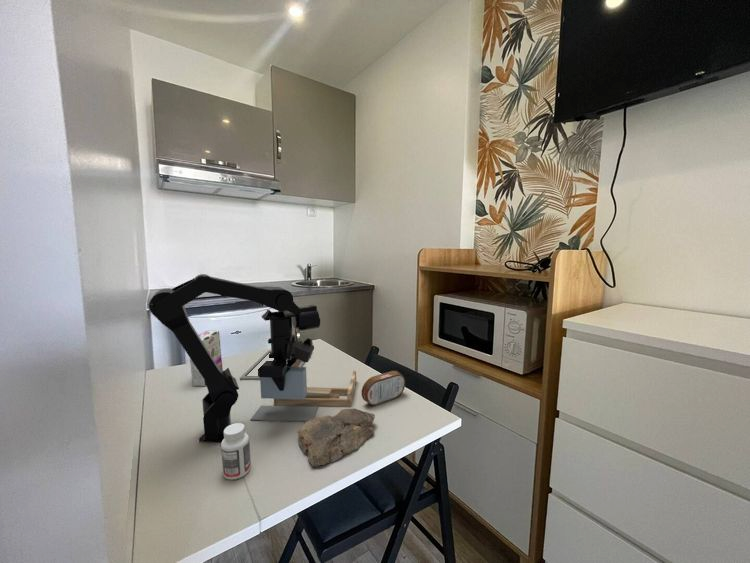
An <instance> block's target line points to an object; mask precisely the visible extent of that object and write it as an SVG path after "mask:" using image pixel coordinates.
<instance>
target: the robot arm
mask: <svg viewBox="0 0 750 563" xmlns="http://www.w3.org/2000/svg"><path fill="white" fill-rule="evenodd" d="M205 293H208V294H214V295H219V296H225V297H229V298H233V299H234V298H235V299H240V300H245V301H252V302H255V303H258V304H260V305H263V306H266V307H267V308H270V309H273V310H276V311H271V310H270V309H267V310H266V311H265V312H264V313H263V314H262V315H261V318H262V319H263V320H264V321H265V322H266V321H269V329H270V330H269V332H270V333H269V334H270V338H268V339H267V344H269V345H270V350H271V353H270V354H269V358H274V360H273V361H266V362H265V363H264V364H263V365H262V366H261V367H260V368H259V369H258V376H259V377H269V378H272V379H273V381H274V382H275V384H276V386H277V387H278V389H279V390H280V391H283V390H284V386H285V377H286V373H287V372H288V371H289V370H290V368H291V367H292V365H293V364H294V363H295V362H296V361H297V359H299V360H302V362H305V363H308V362H309V361H310V359H311V358H312V356H313V352H314V350H315V345H314V343H313V339H312V338H308V337H307V338H306V339H304V340H300V341H299V340H297V337H296V334H293V328H294V329H297V331H298V332H302V331H309V330H314V329H316V330H317V329H319V328H320V327H321V318H320V314H319V310H318V306H317V305H315V304H310V305H307V306H305V305H304V306H300V307H299V305H297V304H296V302H294V297H293V296H294V295H293V294H292V292H290V291H289V290H288V289H286V288H283V287H280V286H267V285H266V286H259V285H258V286H255V285H251V284H247V283H242V282H238V281H237V282H236V281H232V280H229V279H223V278H219V277H215V276H214V277H213V276H210V275H208V274H204V273H200V274H198V275H196V276H195V277H193V278H192V279H190V280H188V281H185V282H183V283H181V284H178V285H176V286H175V287H172V288H162V289H160V290H157V291H156V292H155V293H154V294H153V295H152V297H151V298H150V301H149V303H148V310H149V312H150V313H151V314H152V315H153V316H154V317H155V318H156V319H157V320H158V321H159V322H160V323H161V324H162V326H164V327H166V328H167V329H168V330H170V331H171V332H172V333H173V334H174V336H175V338H176V339H177V341H178V342H179V343H180V345H181V347H182V348H183V349H184V352H186V354H187V356H188V357H189V360H190V359H191V360H192V362H193V363H194V365H195V366H196V368H197V369H198V371H199V372H200V374H201V375H202V377H203V378H204V380H205V383H206V386H205V387H206V388H207V392H208V393H207V394H206V395H205V396H204V397H203V398H202V400H201V402H202V411H203V417H202V419H203V421H202V422H203V431H204V432H203V434H202V435H201V436H200V437H199V438H198V442H210V443H211V442H212V443H213V442H214V443H222V441H223V439H224V429H225V428H226V427H227V426H229V425H231V424H232V422H231V411H232V407H233V406H234V405H235V404H236V403H237V400H238V399H239V393H238V392H239V391H238V390H239V389H240V387H239V384H238V381H237V378H236V377H234V376H233V375H232V373H231V370H230V368H229V367H227V368H226V369H223V368H222V369H223V370H222V369H220V368H219V367H218V366H217V364H216V362H215V361H214V359H213V358H212V356H211V354H210V353H209V351H208V350H207V348H206V347H205V345H204V343H203V342H202V340H201V339H200V337H199V335H200V334H199V333H198V332H197V331H196V329H195V327H194V326H193V325H192V323H191V322H190V318H189V316H188V312H187V310H186V307H185V306H186V305H187V304H189V303H190V302H192V301H193V300H195V299H197V298H198V297H200V296H201V295H203V294H205ZM286 311H287V313H285V312H286Z"/></svg>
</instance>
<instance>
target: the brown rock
mask: <svg viewBox="0 0 750 563" xmlns="http://www.w3.org/2000/svg"><path fill="white" fill-rule="evenodd" d="M375 418H376V414H375V413H371V412H368V411H362V410H360V409H357V408H344V409H340V410H339V412H337V414H335V415H334V416H333V415H325V416H322V417H321V416H320V417H319V416H318V417H314V418H313V419H311V420H309V421H307V422H304V424H302V425H300V427H298V430H297V434H298V439H297V440H298V445H299V447H300V450H302V452H303V453H304V455H307V461H308V462H309V463H310V465H311V467H312V468H318V466H319V467H320V465H321V466H325V465H326V463H327V464H331V463H332V464H333V463H334V462H336V461H338V460H340V459H342V458H343V456H344V455H347V454H350V453H352V452H355V451H357V450H359V449H360V448H361V447H363V446H364V443H365V442H366V441H368V440H369V439H370V437H371V436H373V434H374V432H375V430H374V427H373V423H374V421H375ZM306 453H307V454H306ZM329 462H330V463H329Z"/></svg>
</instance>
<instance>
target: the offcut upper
mask: <svg viewBox="0 0 750 563" xmlns="http://www.w3.org/2000/svg"><path fill="white" fill-rule="evenodd" d="M331 395H332V394H331V389H315V388H307V395H306V397H305V398H330V397H331Z"/></svg>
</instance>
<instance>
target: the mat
mask: <svg viewBox="0 0 750 563" xmlns="http://www.w3.org/2000/svg"><path fill="white" fill-rule="evenodd" d="M318 409H319V406H291V405H260V406H259V407H258V408H257V410H256V411H255V412H254V414H253V415H252V416H251V418H250V420H261V421H260V422H289V421H297V422H296V423H299V422H298V421H300V423H305V422H307V421H309V420H311V419H314V418H315V417H316V413H317V411H318Z"/></svg>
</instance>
